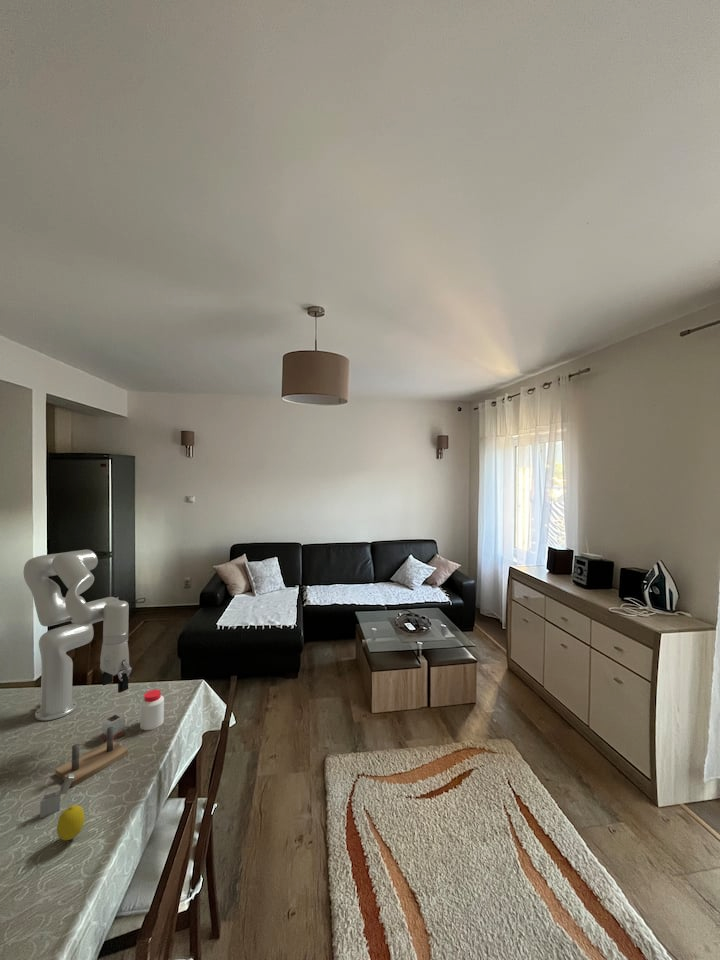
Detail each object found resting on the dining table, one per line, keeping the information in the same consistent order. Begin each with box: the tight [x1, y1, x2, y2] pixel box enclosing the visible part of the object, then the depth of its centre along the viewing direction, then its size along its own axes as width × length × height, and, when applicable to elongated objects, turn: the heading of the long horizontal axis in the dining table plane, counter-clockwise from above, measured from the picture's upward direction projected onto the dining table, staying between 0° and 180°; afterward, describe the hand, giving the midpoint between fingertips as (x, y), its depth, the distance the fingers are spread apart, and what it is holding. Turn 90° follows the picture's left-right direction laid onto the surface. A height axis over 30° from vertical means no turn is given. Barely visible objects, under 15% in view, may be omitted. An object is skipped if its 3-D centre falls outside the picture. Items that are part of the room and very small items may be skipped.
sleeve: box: [101, 712, 126, 741], centre depth 138 cm, size 5×5×6 cm
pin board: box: [54, 727, 129, 788], centre depth 124 cm, size 10×16×8 cm, turn 151°
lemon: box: [56, 804, 86, 841], centre depth 98 cm, size 6×6×8 cm
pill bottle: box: [139, 689, 165, 731], centre depth 145 cm, size 8×8×11 cm
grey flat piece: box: [39, 774, 74, 819], centre depth 107 cm, size 7×2×8 cm, turn 130°
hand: (115, 687), depth 138 cm, fingers open, 9 cm apart
